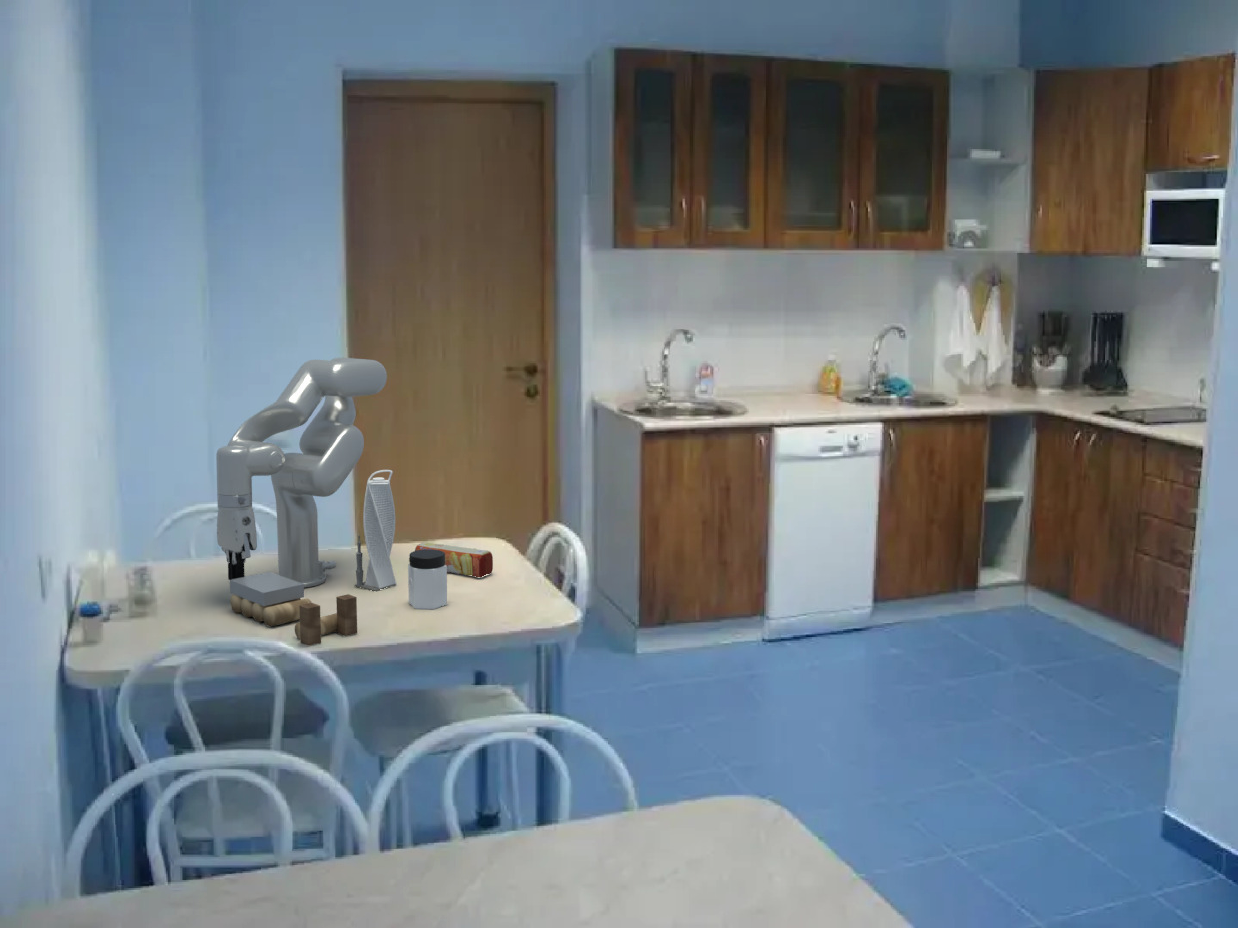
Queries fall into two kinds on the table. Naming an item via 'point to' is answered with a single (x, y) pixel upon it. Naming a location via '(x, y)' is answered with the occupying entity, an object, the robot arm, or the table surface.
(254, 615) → the roller track
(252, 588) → the slab
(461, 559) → the snack package
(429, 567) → the jar
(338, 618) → the posts
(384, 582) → the skyscraper
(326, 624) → the roller
